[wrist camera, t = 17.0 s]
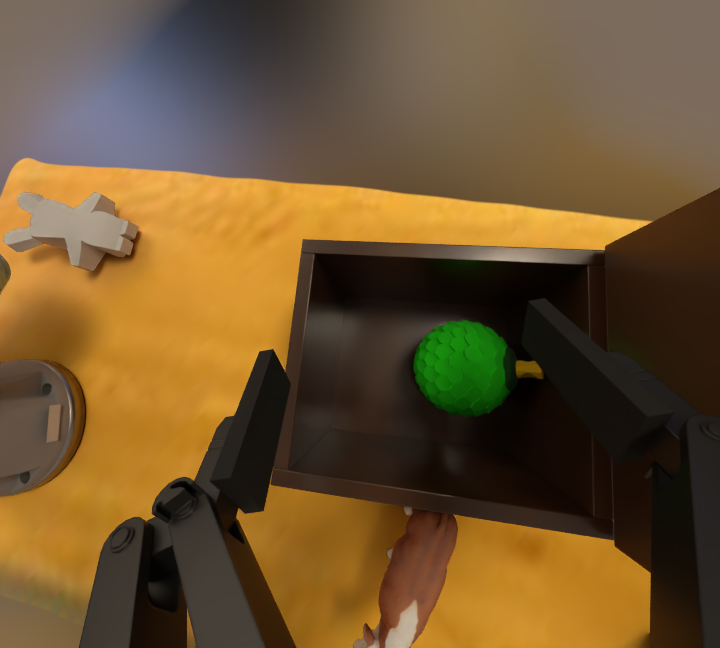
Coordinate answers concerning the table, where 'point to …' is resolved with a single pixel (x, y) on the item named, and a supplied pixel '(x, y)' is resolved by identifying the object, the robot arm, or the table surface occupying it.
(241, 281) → the table surface
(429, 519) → the bull figurine
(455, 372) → the ornament
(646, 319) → the chest lid
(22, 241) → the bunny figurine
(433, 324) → the chest
